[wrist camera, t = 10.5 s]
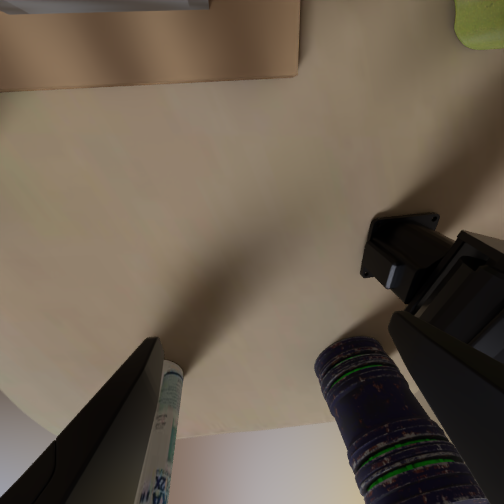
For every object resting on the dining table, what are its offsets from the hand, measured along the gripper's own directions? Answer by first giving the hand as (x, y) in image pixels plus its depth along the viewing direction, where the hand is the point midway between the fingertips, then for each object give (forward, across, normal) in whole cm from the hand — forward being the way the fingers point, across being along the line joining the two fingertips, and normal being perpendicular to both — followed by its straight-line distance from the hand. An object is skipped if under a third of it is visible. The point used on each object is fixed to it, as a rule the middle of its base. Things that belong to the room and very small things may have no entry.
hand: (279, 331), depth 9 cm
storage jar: (+13, -13, +22) cm, 29 cm away
